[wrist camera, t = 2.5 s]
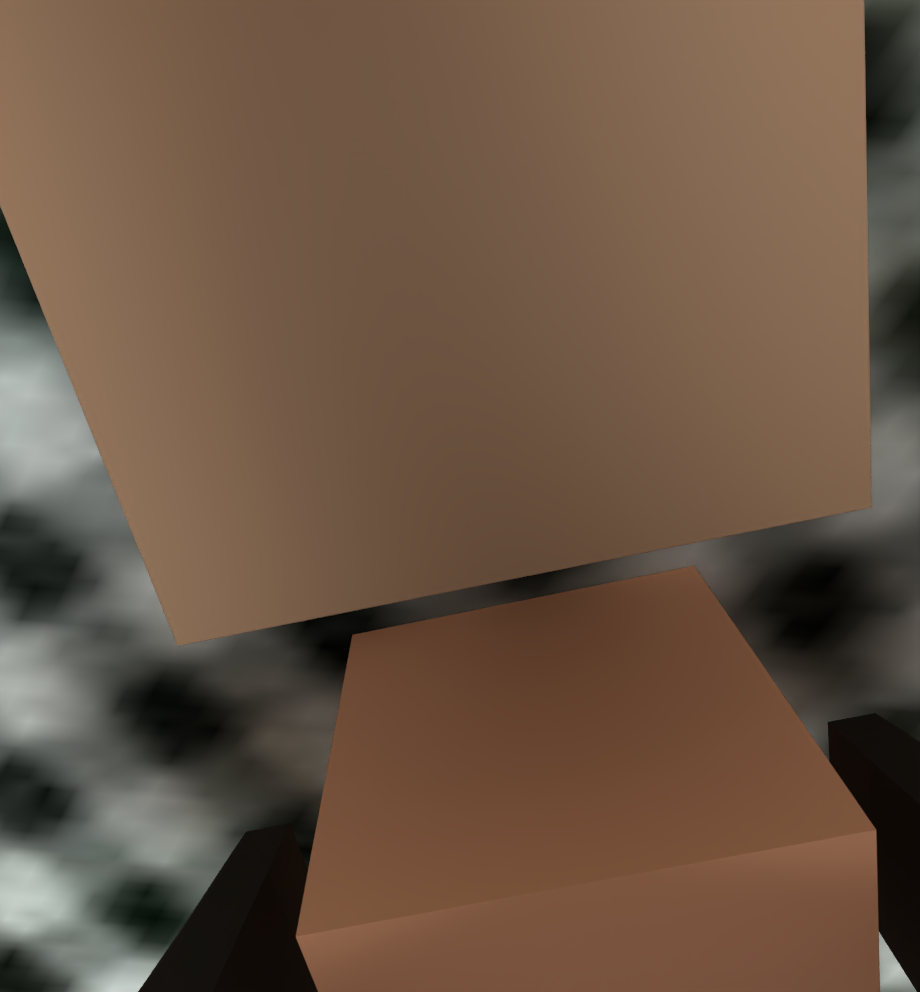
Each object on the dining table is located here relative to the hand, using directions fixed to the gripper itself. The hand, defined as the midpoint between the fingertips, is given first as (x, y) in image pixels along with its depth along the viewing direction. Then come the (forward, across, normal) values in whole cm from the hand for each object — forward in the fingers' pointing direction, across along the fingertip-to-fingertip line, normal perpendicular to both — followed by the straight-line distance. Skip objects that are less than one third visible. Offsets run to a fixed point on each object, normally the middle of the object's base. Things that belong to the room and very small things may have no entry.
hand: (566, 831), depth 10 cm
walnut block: (+2, 0, -8) cm, 8 cm away
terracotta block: (+2, 0, 0) cm, 2 cm away
